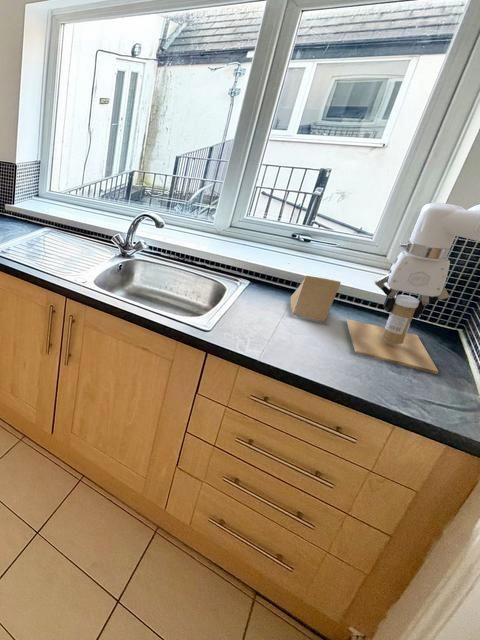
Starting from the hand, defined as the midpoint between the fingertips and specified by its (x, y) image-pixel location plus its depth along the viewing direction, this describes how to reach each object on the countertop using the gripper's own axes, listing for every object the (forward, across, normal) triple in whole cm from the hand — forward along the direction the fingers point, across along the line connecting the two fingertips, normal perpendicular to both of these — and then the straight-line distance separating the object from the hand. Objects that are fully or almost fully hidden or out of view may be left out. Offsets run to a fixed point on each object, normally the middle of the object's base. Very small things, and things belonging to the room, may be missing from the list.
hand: (400, 312), depth 115 cm
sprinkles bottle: (+9, 0, 0) cm, 9 cm away
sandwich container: (+11, -18, +13) cm, 25 cm away
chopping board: (+11, 0, 0) cm, 11 cm away
